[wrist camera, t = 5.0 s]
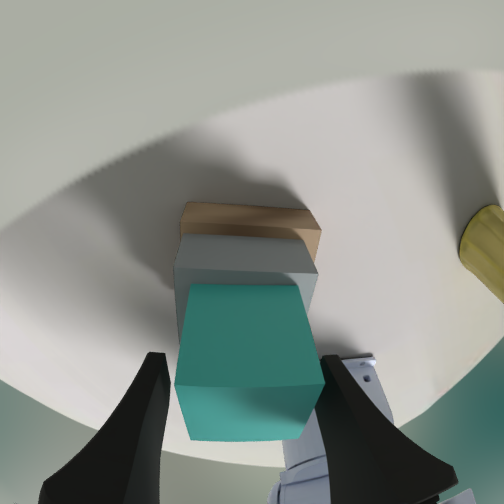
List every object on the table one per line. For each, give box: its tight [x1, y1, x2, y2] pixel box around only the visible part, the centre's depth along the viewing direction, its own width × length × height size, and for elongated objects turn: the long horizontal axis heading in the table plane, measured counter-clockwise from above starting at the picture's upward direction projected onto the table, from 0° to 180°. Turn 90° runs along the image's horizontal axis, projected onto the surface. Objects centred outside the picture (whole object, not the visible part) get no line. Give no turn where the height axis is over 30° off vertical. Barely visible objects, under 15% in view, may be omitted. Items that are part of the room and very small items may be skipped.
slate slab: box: [173, 233, 318, 343], centre depth 15 cm, size 6×6×3 cm
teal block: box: [174, 284, 325, 442], centre depth 11 cm, size 4×4×5 cm
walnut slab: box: [180, 202, 322, 263], centre depth 17 cm, size 7×7×3 cm
